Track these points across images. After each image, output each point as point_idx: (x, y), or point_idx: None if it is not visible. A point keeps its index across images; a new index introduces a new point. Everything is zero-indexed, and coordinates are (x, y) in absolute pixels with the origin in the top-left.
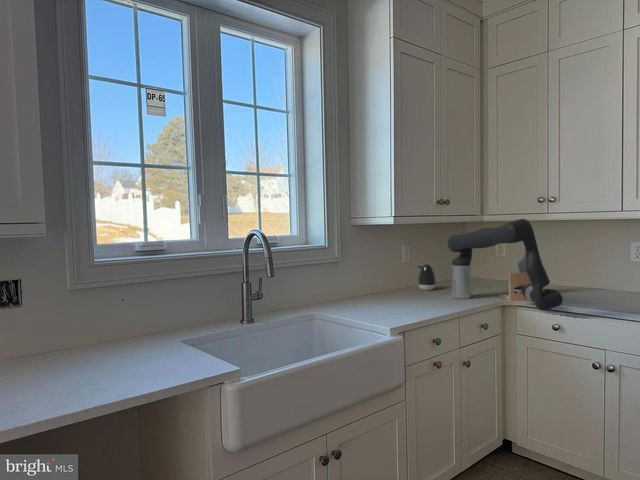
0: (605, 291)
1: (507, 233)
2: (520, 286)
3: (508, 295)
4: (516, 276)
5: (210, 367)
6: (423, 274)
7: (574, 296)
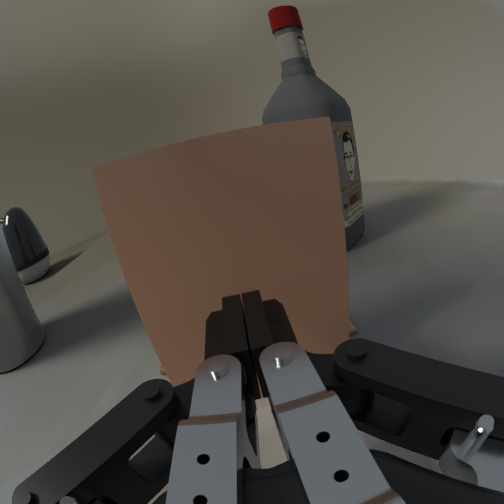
0: (491, 191)
1: None
2: (214, 326)
3: None
4: (166, 189)
5: None
6: None
7: (481, 233)
